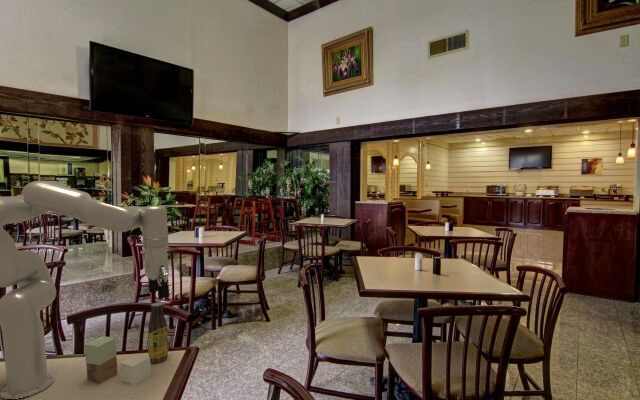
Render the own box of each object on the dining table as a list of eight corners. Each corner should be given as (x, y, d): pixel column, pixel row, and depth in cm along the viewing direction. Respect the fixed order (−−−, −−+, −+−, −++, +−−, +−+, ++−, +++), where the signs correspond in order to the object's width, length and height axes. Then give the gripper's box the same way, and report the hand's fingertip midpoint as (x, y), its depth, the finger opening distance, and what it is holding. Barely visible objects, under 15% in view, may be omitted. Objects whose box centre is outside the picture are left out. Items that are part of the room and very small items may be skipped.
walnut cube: (87, 380, 109) (86, 361, 108) (106, 370, 114) (104, 353, 114) (99, 384, 106) (97, 365, 106) (117, 374, 111) (116, 356, 111)
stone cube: (121, 380, 107) (120, 362, 107) (138, 371, 113) (137, 353, 113) (134, 385, 105) (132, 366, 105) (151, 374, 110) (150, 357, 110)
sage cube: (85, 362, 108) (84, 344, 107) (103, 353, 113) (102, 336, 113) (99, 365, 106) (98, 346, 106) (116, 355, 111) (115, 338, 111)
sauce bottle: (154, 366, 116) (150, 309, 115) (145, 360, 119) (142, 305, 118) (172, 357, 121) (169, 303, 120) (163, 352, 125) (160, 300, 124)
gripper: (136, 242, 115) (139, 291, 116) (151, 248, 102) (155, 303, 103) (159, 239, 120) (162, 286, 121) (177, 244, 107) (180, 297, 108)
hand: (159, 294), depth 112 cm, fingers open, 9 cm apart
